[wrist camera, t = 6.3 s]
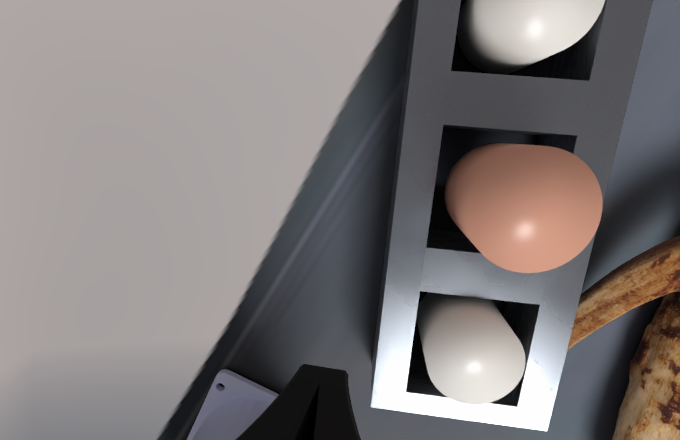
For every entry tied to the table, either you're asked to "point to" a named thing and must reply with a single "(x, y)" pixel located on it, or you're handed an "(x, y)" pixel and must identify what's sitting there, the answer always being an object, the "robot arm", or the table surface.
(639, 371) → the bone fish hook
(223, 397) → the robot arm
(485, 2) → the knob
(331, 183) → the table surface
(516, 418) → the panel
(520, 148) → the brown egg
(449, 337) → the knob
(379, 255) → the table surface
